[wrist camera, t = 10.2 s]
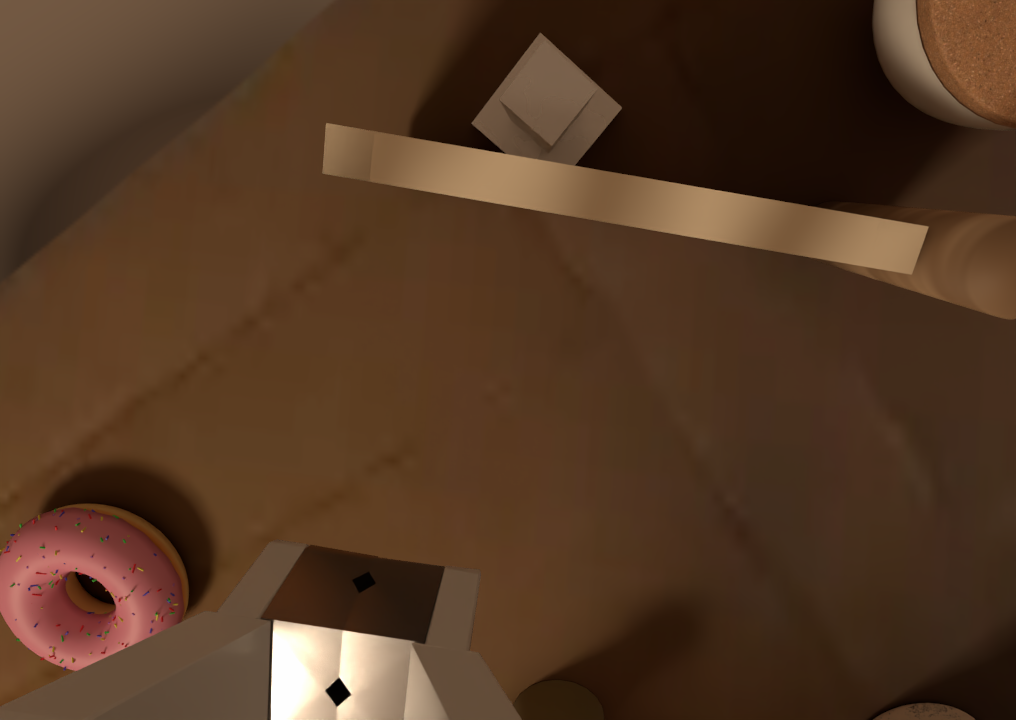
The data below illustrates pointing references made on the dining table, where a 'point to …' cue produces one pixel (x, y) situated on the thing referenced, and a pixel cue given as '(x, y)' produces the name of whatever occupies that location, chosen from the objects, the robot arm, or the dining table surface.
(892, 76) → the lidded jar
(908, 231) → the wooden panel
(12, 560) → the doughnut
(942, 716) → the teacup with lid
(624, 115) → the dining table surface
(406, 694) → the robot arm
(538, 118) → the stop post
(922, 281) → the hinge post
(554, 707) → the cork
